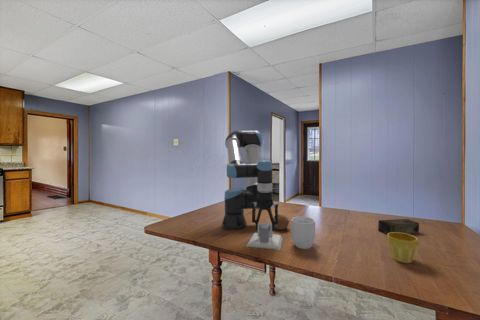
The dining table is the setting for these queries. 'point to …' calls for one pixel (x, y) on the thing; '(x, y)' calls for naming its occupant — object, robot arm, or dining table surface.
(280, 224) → the onion
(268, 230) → the lid
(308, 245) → the mug
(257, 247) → the mat
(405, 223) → the beverage carton
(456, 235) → the dining table surface
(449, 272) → the dining table surface
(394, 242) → the plant pot
